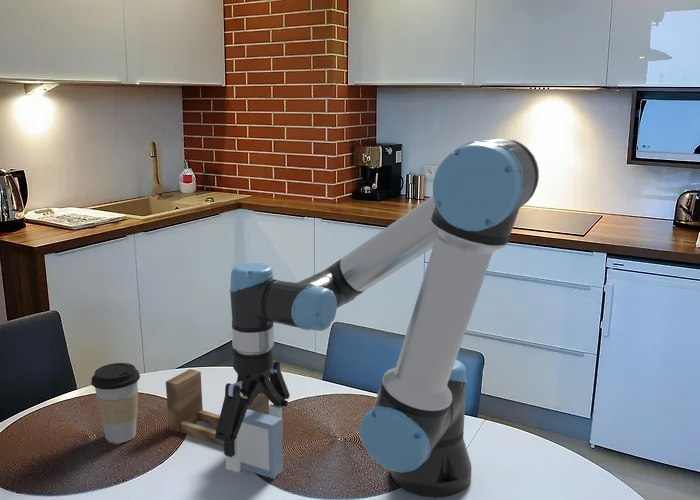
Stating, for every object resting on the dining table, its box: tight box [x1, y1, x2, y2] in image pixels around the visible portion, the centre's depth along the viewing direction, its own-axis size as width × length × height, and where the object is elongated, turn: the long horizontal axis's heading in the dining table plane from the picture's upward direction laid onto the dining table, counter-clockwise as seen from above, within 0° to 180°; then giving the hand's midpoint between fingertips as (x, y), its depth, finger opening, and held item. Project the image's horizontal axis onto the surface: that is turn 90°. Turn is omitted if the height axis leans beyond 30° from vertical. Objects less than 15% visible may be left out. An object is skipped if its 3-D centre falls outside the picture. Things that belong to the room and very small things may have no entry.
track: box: [165, 368, 270, 446], centre depth 136 cm, size 21×8×11 cm, turn 62°
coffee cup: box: [90, 362, 141, 443], centre depth 134 cm, size 9×9×15 cm
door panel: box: [231, 409, 284, 480], centre depth 123 cm, size 10×3×11 cm, turn 62°
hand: (255, 452), depth 123 cm, fingers open, 13 cm apart
